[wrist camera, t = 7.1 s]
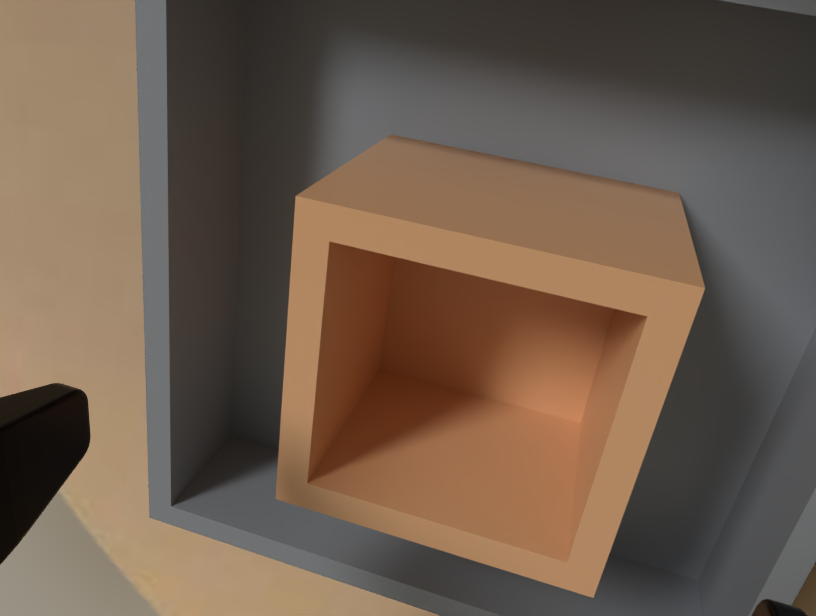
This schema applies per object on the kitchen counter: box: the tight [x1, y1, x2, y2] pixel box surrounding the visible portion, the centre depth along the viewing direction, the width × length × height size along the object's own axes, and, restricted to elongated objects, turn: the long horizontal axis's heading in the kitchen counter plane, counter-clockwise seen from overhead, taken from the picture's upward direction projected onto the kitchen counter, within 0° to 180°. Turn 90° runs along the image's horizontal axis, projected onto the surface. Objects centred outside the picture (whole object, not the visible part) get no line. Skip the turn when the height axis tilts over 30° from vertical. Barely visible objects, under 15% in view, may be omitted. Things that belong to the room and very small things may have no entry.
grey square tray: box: [135, 0, 816, 616], centre depth 15 cm, size 14×14×4 cm
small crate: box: [276, 134, 705, 598], centre depth 14 cm, size 6×6×5 cm
